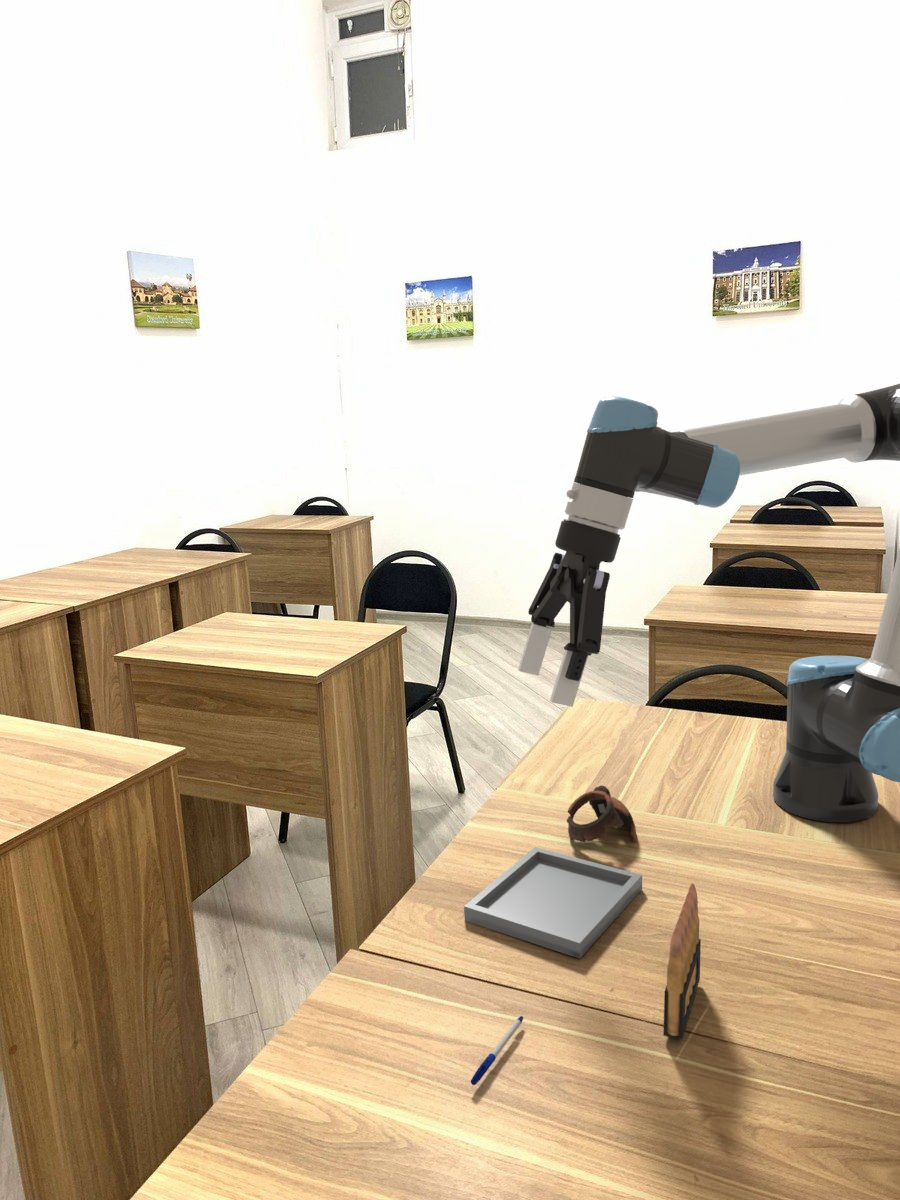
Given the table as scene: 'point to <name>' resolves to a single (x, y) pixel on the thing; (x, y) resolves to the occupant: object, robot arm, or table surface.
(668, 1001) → the ammunition clip
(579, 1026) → the table surface
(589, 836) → the broken brown clay pot
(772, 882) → the table surface
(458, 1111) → the table surface
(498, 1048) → the ballpoint pen
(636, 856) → the table surface
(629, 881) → the tray
